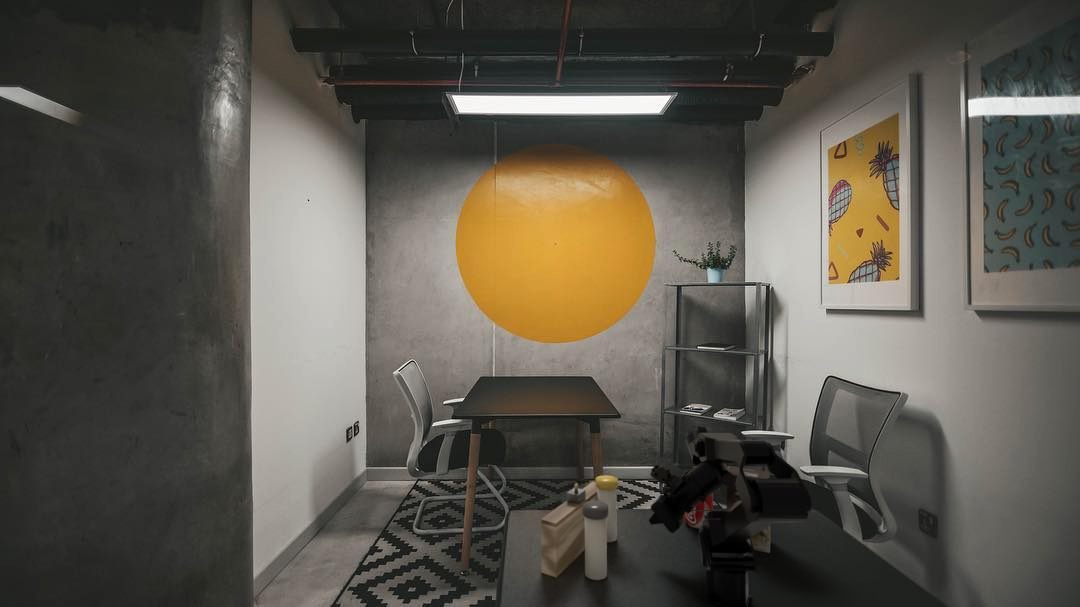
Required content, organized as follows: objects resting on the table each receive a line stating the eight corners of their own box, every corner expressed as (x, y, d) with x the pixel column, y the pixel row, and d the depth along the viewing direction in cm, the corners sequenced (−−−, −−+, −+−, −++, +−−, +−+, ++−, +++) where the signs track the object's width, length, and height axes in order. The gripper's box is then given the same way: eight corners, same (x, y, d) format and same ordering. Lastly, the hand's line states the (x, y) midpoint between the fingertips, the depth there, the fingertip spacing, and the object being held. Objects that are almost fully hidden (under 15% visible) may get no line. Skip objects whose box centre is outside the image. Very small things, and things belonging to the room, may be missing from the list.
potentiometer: (585, 498, 103) (585, 482, 103) (578, 504, 100) (578, 488, 100) (574, 496, 104) (574, 480, 104) (567, 501, 101) (566, 485, 101)
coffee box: (725, 544, 103) (724, 473, 103) (728, 532, 109) (727, 464, 109) (770, 554, 99) (769, 480, 99) (771, 540, 105) (770, 470, 105)
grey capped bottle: (613, 571, 92) (612, 504, 92) (602, 584, 88) (601, 514, 88) (590, 563, 95) (589, 498, 95) (578, 575, 90) (577, 508, 91)
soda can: (715, 532, 109) (715, 482, 109) (684, 529, 110) (684, 480, 110) (710, 519, 116) (710, 471, 116) (681, 516, 117) (681, 470, 117)
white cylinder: (622, 535, 106) (621, 478, 107) (613, 545, 102) (612, 485, 102) (601, 530, 109) (601, 473, 109) (592, 539, 105) (591, 480, 105)
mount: (606, 528, 111) (605, 484, 111) (556, 577, 91) (555, 523, 91) (593, 525, 113) (592, 481, 113) (541, 572, 93) (541, 519, 93)
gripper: (685, 438, 105) (639, 477, 111) (660, 461, 89) (609, 505, 95) (721, 479, 101) (672, 517, 106) (702, 511, 85) (646, 554, 91)
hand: (650, 522), depth 100 cm, fingers closed
